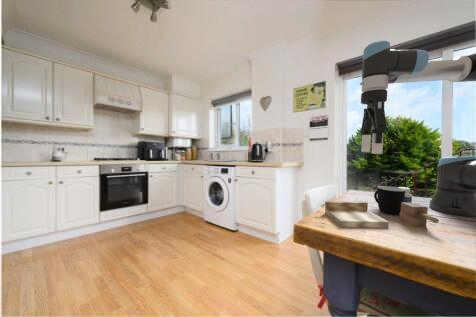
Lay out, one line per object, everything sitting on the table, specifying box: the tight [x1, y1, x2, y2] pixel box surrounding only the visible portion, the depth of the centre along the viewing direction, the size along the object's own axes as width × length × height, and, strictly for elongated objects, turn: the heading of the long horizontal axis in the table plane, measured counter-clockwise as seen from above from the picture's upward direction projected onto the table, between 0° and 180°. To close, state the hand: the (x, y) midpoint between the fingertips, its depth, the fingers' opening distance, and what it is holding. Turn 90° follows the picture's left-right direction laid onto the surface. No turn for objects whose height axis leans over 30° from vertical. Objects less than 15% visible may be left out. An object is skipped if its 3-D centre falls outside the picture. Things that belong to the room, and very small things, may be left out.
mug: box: [373, 185, 405, 216], centre depth 84 cm, size 12×9×10 cm
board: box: [324, 200, 390, 228], centre depth 74 cm, size 16×13×5 cm
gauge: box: [399, 202, 440, 228], centre depth 68 cm, size 5×11×7 cm, turn 179°
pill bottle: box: [397, 186, 413, 203], centre depth 85 cm, size 5×5×10 cm
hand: (370, 152), depth 71 cm, fingers open, 13 cm apart
